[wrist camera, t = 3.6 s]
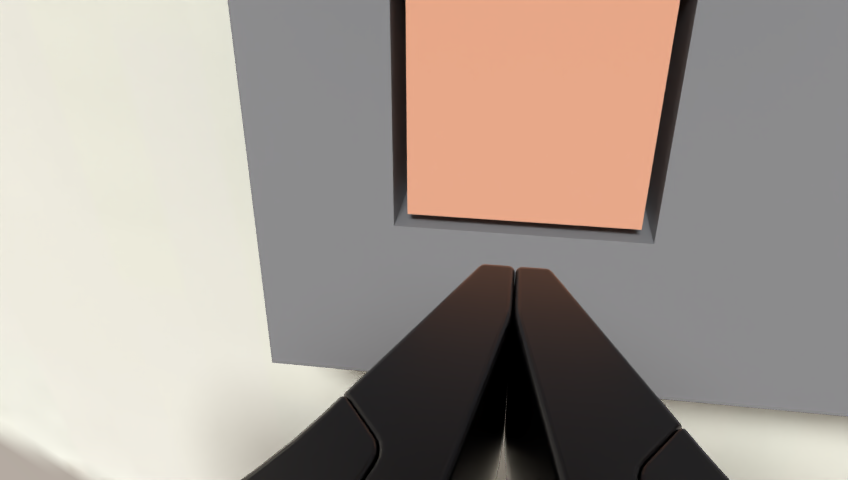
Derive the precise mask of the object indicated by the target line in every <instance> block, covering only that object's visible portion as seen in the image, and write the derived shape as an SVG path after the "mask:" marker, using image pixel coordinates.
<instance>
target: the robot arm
mask: <svg viewBox="0 0 848 480" xmlns="http://www.w3.org/2000/svg"><path fill="white" fill-rule="evenodd" d="M514 282H515V283H514ZM506 399H507V401H506ZM505 413H506V417H505ZM504 426H505V441H504V446H505V467H506V480H729V479H728V478H727V476H726V475H725V474H724V473H723V472H722V471H721V470H720V469H719V468H718V466H717V465H716V464H715V463H714V462H713V461H712V460H711V459H710V458H709V456H708V455H707V454H706V453H705V452H704V451H703V450H702V448H701V447H700V446H699V445H698V444H697V443H696V441H695V440H694V439H693V438H692V437H691V435H690V434H689V433H688V432H687V431H686V430H685V429H682V426H681V424H680V423H679V422H678V420H677V419H676V418H675V417H674V416H673V415H672V413H671V412H670V411H669V410H668V409H667V407H666V406H665V405H664V404H663V403H662V401H661V400H660V399H659V398H658V397H657V396H656V394H655V393H654V392H653V391H652V390H651V388H650V387H649V386H648V385H647V384H646V382H645V381H644V380H643V379H642V378H641V377H640V375H639V374H638V373H637V372H636V371H635V369H634V368H633V367H632V366H631V365H630V364H629V362H628V361H627V360H626V359H625V358H624V356H623V355H622V354H621V353H620V352H619V350H618V349H617V348H616V347H615V346H614V345H613V343H612V342H611V341H610V340H609V339H608V337H607V336H606V335H605V334H604V333H603V331H602V330H601V329H600V328H599V327H598V326H597V324H596V323H595V322H594V321H593V320H592V318H591V317H590V316H589V315H588V314H587V312H586V311H585V310H584V309H583V308H582V307H581V305H580V304H579V303H578V302H577V301H576V299H575V298H574V297H573V296H572V295H571V294H570V292H569V291H568V290H567V289H566V288H565V286H564V285H563V284H562V283H561V282H560V280H559V279H558V278H557V277H556V276H555V275H554V273H553V272H552V271H551V270H549V269H546V268H532V267H519V268H518V269H517V270H516V272H515V270H514V268H512V267H511V266H504V265H490V264H483V265H481V266H479V267H478V268H477V269H476V270H475V271H474V272H473V273H472V274H471V275H470V276H468V277H467V278H466V279H465V280H464V281H463V282H462V283H461V284H460V285H459V286H458V287H457V288H456V289H455V290H454V291H453V292H452V293H450V294H449V295H448V296H447V297H446V298H445V299H444V300H443V301H442V302H441V303H440V304H439V305H438V306H437V307H436V308H435V309H434V310H432V311H431V312H430V313H429V314H428V315H427V316H426V317H425V318H424V319H423V320H422V321H421V322H420V323H419V324H418V325H417V326H416V327H414V328H413V329H412V330H411V331H410V332H409V333H408V334H407V335H406V336H405V337H404V338H403V339H402V340H401V341H400V342H399V343H398V344H396V345H395V346H394V347H393V348H392V349H391V350H390V351H389V352H388V353H387V354H386V355H385V356H384V357H383V358H382V359H381V360H380V361H378V362H377V363H376V364H375V365H374V366H373V367H372V368H371V369H370V370H369V371H368V372H367V373H366V374H365V375H364V376H363V377H362V378H360V379H359V380H358V381H357V382H356V383H355V384H354V385H353V386H352V387H351V388H350V389H349V390H348V391H347V392H346V393H345V394H344V397H340V398H339V399H338V400H337V401H336V402H335V403H334V404H332V405H331V406H330V407H329V408H328V409H327V410H326V411H325V412H324V413H323V414H322V415H321V416H320V417H318V418H317V419H316V420H315V421H314V422H313V423H312V424H311V425H309V426H308V427H307V428H306V429H305V430H304V431H303V432H301V433H300V434H299V435H298V436H297V437H296V438H295V439H293V440H292V441H291V442H290V443H289V444H287V445H286V446H285V447H283V448H282V449H281V450H280V451H278V452H277V453H276V454H274V455H273V456H272V457H271V458H269V459H268V460H267V461H265V462H264V463H263V464H262V465H260V466H259V467H258V468H256V469H255V470H254V471H252V472H251V473H250V474H248V475H247V476H246V477H244V478H243V479H242V480H496V477H497V472H498V468H499V463H500V457H501V451H502V445H503V436H504Z"/></svg>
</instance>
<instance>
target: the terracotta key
mask: <svg viewBox="0 0 848 480" xmlns="http://www.w3.org/2000/svg"><path fill="white" fill-rule="evenodd" d="M679 4H680V0H406V99H407V212H408V214H416V215H431V216H446V217H461V218H475V219H490V220H505V221H519V222H534V223H549V224H564V225H578V226H593V227H608V228H622V229H637V230H642V224H643V218H644V212H645V206H646V200H647V194H648V188H649V182H650V176H651V171H652V165H653V159H654V153H655V147H656V141H657V135H658V129H659V123H660V117H661V111H662V105H663V99H664V93H665V87H666V81H667V75H668V69H669V63H670V57H671V51H672V45H673V39H674V33H675V27H676V21H677V15H678V10H679Z"/></svg>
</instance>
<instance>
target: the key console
mask: <svg viewBox="0 0 848 480" xmlns="http://www.w3.org/2000/svg"><path fill="white" fill-rule="evenodd" d="M228 6H229V14H230V23H231V31H232V39H233V47H234V55H235V63H236V71H237V79H238V88H239V96H240V104H241V112H242V120H243V128H244V136H245V144H246V152H247V161H248V169H249V177H250V185H251V193H252V201H253V209H254V217H255V225H256V234H257V242H258V250H259V258H260V266H261V274H262V282H263V290H264V299H265V307H266V315H267V323H268V331H269V339H270V347H271V355H272V363H283V364H294V365H304V366H315V367H326V368H336V369H347V370H358V371H369V370H370V369H371V368H372V367H373V366H374V365H375V364H376V363H377V362H378V361H380V360H381V359H382V358H383V357H384V356H385V355H386V354H387V353H388V352H389V351H390V350H391V349H392V348H393V347H394V346H395V345H396V344H398V343H399V342H400V341H401V340H402V339H403V338H404V337H405V336H406V335H407V334H408V333H409V332H410V331H411V330H412V329H413V328H414V327H416V326H417V325H418V324H419V323H420V322H421V321H422V320H423V319H424V318H425V317H426V316H427V315H428V314H429V313H430V312H431V311H432V310H434V309H435V308H436V307H437V306H438V305H439V304H440V303H441V302H442V301H443V300H444V299H445V298H446V297H447V296H448V295H449V294H450V293H452V292H453V291H454V290H455V289H456V288H457V287H458V286H459V285H460V284H461V283H462V282H463V281H464V280H465V279H466V278H467V277H468V276H470V275H471V274H472V273H473V272H474V271H475V270H476V269H477V268H478V267H479V266H481V265H483V264H490V265H504V266H511V267H512V268H514V270H515V272H516V270H517V269H518V268H519V267H532V268H546V269H549V270H551V271H552V272H553V273H554V275H555V276H556V277H557V278H558V279H559V280H560V282H561V283H562V284H563V285H564V286H565V288H566V289H567V290H568V291H569V292H570V294H571V295H572V296H573V297H574V298H575V299H576V301H577V302H578V303H579V304H580V305H581V307H582V308H583V309H584V310H585V311H586V312H587V314H588V315H589V316H590V317H591V318H592V320H593V321H594V322H595V323H596V324H597V326H598V327H599V328H600V329H601V330H602V331H603V333H604V334H605V335H606V336H607V337H608V339H609V340H610V341H611V342H612V343H613V345H614V346H615V347H616V348H617V349H618V350H619V352H620V353H621V354H622V355H623V356H624V358H625V359H626V360H627V361H628V362H629V364H630V365H631V366H632V367H633V368H634V369H635V371H636V372H637V373H638V374H639V375H640V377H641V378H642V379H643V380H644V381H645V382H646V384H647V385H648V386H649V387H650V388H651V390H652V391H653V392H654V393H655V394H656V396H657V397H658V398H659V399H667V400H677V401H688V402H698V403H709V404H720V405H730V406H741V407H752V408H762V409H773V410H784V411H794V412H805V413H816V414H826V415H837V416H848V0H680V4H679V10H678V15H677V21H676V27H675V33H674V39H673V45H672V51H671V57H670V63H669V69H668V75H667V81H666V87H665V93H664V99H663V105H662V111H661V117H660V123H659V129H658V135H657V141H656V147H655V153H654V159H653V165H652V171H651V176H650V182H649V188H648V194H647V200H646V206H645V212H644V218H643V224H642V230H637V229H622V228H608V227H593V226H578V225H564V224H549V223H534V222H519V221H505V220H490V219H475V218H461V217H446V216H431V215H416V214H408V212H407V99H406V0H228ZM514 283H515V282H514Z"/></svg>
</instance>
